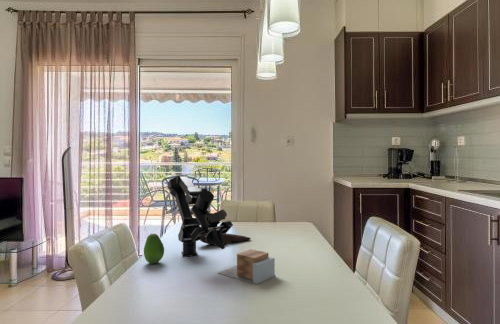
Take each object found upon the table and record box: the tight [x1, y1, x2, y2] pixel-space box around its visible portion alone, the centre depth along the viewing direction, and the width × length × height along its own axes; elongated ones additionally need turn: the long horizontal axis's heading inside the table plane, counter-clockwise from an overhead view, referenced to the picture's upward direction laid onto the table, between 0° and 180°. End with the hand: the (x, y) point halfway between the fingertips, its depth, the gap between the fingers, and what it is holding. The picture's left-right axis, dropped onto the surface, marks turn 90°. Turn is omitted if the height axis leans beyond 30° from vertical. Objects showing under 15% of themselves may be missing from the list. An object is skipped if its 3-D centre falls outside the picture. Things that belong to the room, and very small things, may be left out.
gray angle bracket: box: [218, 256, 276, 285], centre depth 128 cm, size 18×11×6 cm, turn 51°
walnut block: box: [236, 249, 269, 280], centre depth 126 cm, size 8×8×8 cm
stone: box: [199, 233, 251, 246], centre depth 174 cm, size 28×6×10 cm, turn 117°
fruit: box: [143, 233, 165, 265], centre depth 142 cm, size 8×8×12 cm
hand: (223, 248), depth 135 cm, fingers closed
